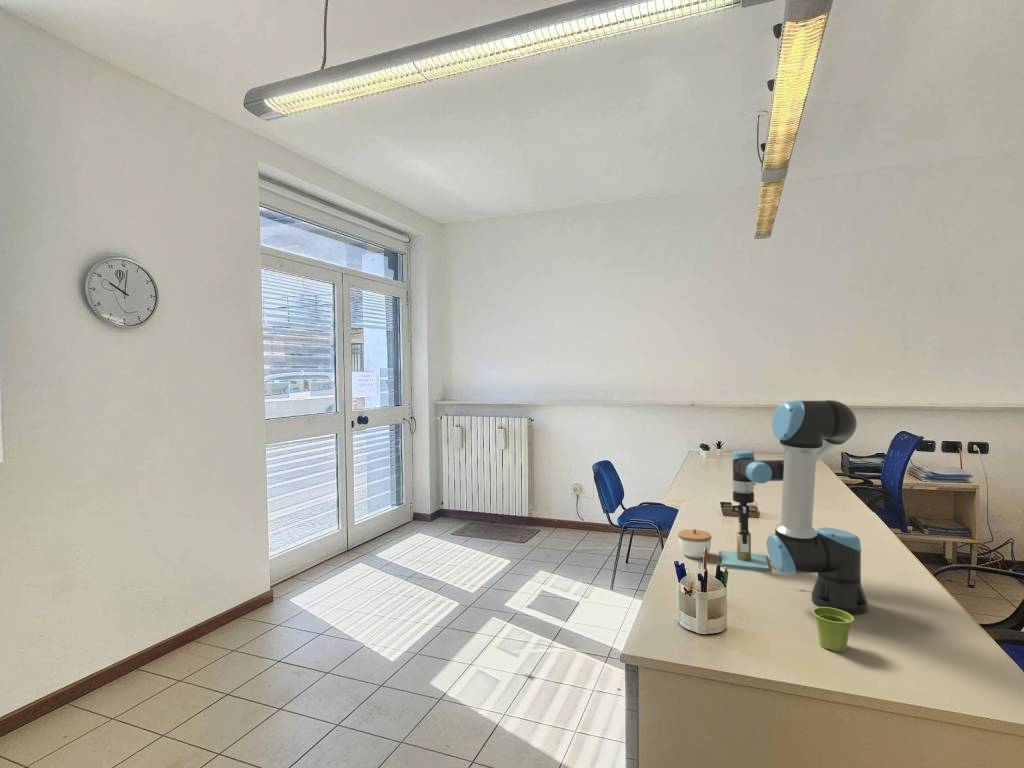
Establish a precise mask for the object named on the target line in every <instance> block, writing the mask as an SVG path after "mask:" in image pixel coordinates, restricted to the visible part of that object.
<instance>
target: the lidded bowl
mask: <svg viewBox="0 0 1024 768" xmlns="http://www.w3.org/2000/svg"><path fill="white" fill-rule="evenodd" d="M677 536H678V547H679V549H680V551H681V552H682V553H683V555H684V556H686V557H688V558H691V559H703V558H702V554H703V549H704V548H707V549H708V554H709V553H710V551H711V548H712V547H711V546H712V534H711V533H709V532H707V531H705V530H699V529H697V528H692V529H682V530H679V532H678V533H677Z"/></svg>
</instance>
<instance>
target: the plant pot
mask: <svg viewBox="0 0 1024 768" xmlns="http://www.w3.org/2000/svg"><path fill="white" fill-rule="evenodd" d="M812 614H813V615H814V619H815V620H816V621H815V622H816V627H817V635H818V642H819V645H820V646H821V647H822V648H823V649H826V650H831V651H832V652H837V653H838V652H839V653H840V652H841V653H842V652H845V651H846V649H847V647H848V640H849V634H850V629H851V626H852V623H853V622H854V620H855V619H854V616H853V615H850V614H849V613H847V612H845V611H842V610H839V609H835V608H830V607H818V606H817V607H815V608H813V610H812Z"/></svg>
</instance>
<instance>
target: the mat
mask: <svg viewBox="0 0 1024 768" xmlns="http://www.w3.org/2000/svg"><path fill="white" fill-rule="evenodd" d="M765 556H766V559H767V563H768V567H769V571H764V570H755V569H745V568H735V567H726V568H727V569H726V568H725V569H726V570H728V569H729V570H735V571H737V570H738V571H747V572H756V573H766V574H767V573H768V574H773V570H772V567H771V564H770V560H769V559H770V558H769V555H768V554H767V555H766V554H765ZM719 562H720V563H719ZM719 564H721V565H722V552H721V550H718V565H719Z"/></svg>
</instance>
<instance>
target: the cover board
mask: <svg viewBox="0 0 1024 768" xmlns="http://www.w3.org/2000/svg"><path fill="white" fill-rule="evenodd" d="M739 532H741V531H739V530H738V531H736V551H735V550H734V551H733V550H723V549H722V550H720V551H721V552H722V565H723V566H725V567H735V568H745V569H755V570H764V571H769V567H768V563H767V559H766V556H765V555H766V554H763V553H755V552H752V534H751V532H749V552H741V535H739Z"/></svg>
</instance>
